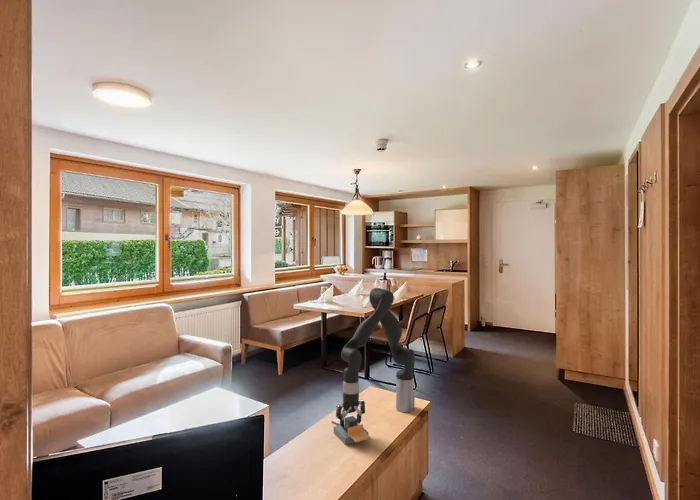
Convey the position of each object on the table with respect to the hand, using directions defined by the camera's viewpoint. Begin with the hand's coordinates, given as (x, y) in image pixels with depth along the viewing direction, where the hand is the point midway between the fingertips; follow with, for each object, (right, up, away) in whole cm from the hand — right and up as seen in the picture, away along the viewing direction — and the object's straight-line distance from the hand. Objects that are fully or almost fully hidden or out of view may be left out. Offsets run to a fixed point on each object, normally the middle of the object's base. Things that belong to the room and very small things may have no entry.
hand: (350, 424), depth 173 cm
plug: (0, -5, 0) cm, 5 cm away
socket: (0, -5, 0) cm, 5 cm away
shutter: (+4, -2, -7) cm, 8 cm away
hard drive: (-3, -6, +15) cm, 16 cm away
